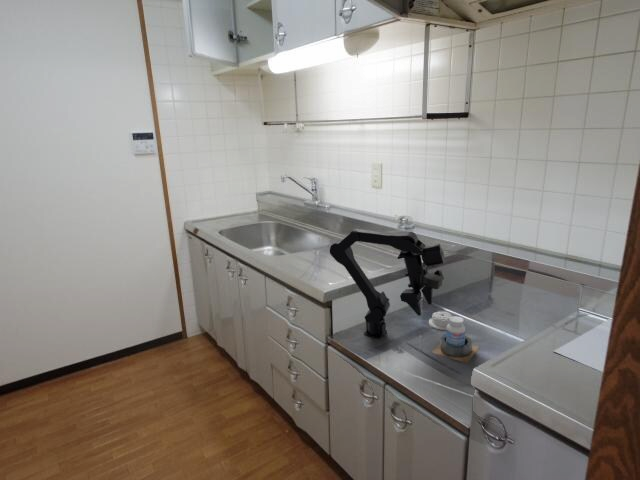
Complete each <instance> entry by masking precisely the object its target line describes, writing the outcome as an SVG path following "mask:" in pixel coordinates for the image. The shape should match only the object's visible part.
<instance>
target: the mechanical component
mask: <svg viewBox="0 0 640 480" xmlns="http://www.w3.org/2000/svg"><path fill="white" fill-rule="evenodd" d="M431 315H432V316H431V317H432V318H429V320H428V325H429V326H430V327H432V328H433V329H437V330H440V331H441V330H442V331H446V328H447V325H448V324H449V318H450V317H453V315H452V314H451V313H449V312H448V311H436V312H433V313H432V314H431Z"/></svg>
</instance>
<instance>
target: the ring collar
mask: <svg viewBox="0 0 640 480" xmlns="http://www.w3.org/2000/svg"><path fill="white" fill-rule="evenodd" d="M439 344H440V349H441V352H443V353H444V354H445V355H448V356H451V357H456V358H463V357H467V356H469V355H470V354H471V353H472V345H473V341H472V339H471V338H470V337H469V336H468V335H465V345H464V346H453V345H450V344H448V343H446V334H442V336H441V337H439Z"/></svg>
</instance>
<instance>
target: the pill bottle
mask: <svg viewBox="0 0 640 480" xmlns="http://www.w3.org/2000/svg"><path fill="white" fill-rule="evenodd" d="M452 316H453V315H452ZM464 322H465V320H464V318H462V317H461V316H457V315H456V316H455V315H454V316H453V317H450V318H449V324H448V325H447V328H446V330H445V332H446V343H448V344H450V345H453V346H464V345H465V336H466V327H465V325H464Z"/></svg>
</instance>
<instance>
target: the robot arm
mask: <svg viewBox="0 0 640 480" xmlns="http://www.w3.org/2000/svg"><path fill="white" fill-rule="evenodd" d="M357 242H360V243H368V244H369V243H370V244H376V245H383V246H388V247H391V248H393V249H395V250H399V251H400V252H399V254H398V256H397V258H396V259H397V260H398V259H399V260H400V259H403V260H404V264H405V265H404V266H405V269H406V273H404V275H405V277H407V278H408V282H409V283H408V284H407V286H408V288H406V289H405V290H403V291H402V292H401V293H400V295H399V298H400V301H401V302H403V303H406V304H407V305H408V306H409V307H410V309H412V311H414V313H415V314H416V315H417V316H420V317H421V316H422V309H421V301H422V299H423V297H424V300H425V301H426V302H427V304H428V305H432V303H433V290H438V289H440V287H442V285H443V280H444V279H445V278H444V277H445V276H444V274H443V271H442V270H440V269H436V270H435V271H434V272H428V269H427V268H426V267H424V265H425V266H427V267H432V266H438V265H445V263H446V259H445V253H444V251H443V248H442V247H441V244H440V243H437V244H434V245H429V246H427V245H426V244H425V243H423V242H422V240H420V239H418V236H417V235H416V233H415V232H413V231H398V232H384V231H377V230H368V229H360V228H354V229H353V230H352V231H351V232H350V233H349V234H348V235H346V237H344V238H343V239H342V238H339V239H338V240H336V241H335V242H334V243H332V244H331V246H330V247H329V254H330V256H331V257H332V258H333V259H334V260H335V261H336V262H337V263H339V264H340V265H342V266H343V267H344V269H345V270H346V271H347V273H348V274H349V276H350V277H351V278H352V280H353V281H354V283H355V284H356V286H357V288H358V289H359V291H360V292H361V293H362V295H363V296H364V297H365V300H366V304H367V307H368V311H367V312H366V314H365V316H364V319H365V331H363V334H364V335H366V336H368V337H372V338H375V339H380V338H381V337H382V336H384V335H385V334H386V333H388V330H387V328H386V327H387V325H386V321H385V316H386V315H387V313H388V312H389V309H390V306H391V304H390V299H389V298H388V297H387V295H386V293H385V292H384V291H381V292H380V291H378V290H377V289H376V288H375V287H374V285H373V284H372V282H371V281H370V280H369V278H368V276H367V275H366V273H365V272H364V271H363V269H362V268H361V267H360V265H359V263H358V262H357V261H356V259H355V256H354V255H355V254H354V252H353V248H352V246H353V245H354V244H355V243H357ZM422 295H423V297H422Z"/></svg>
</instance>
